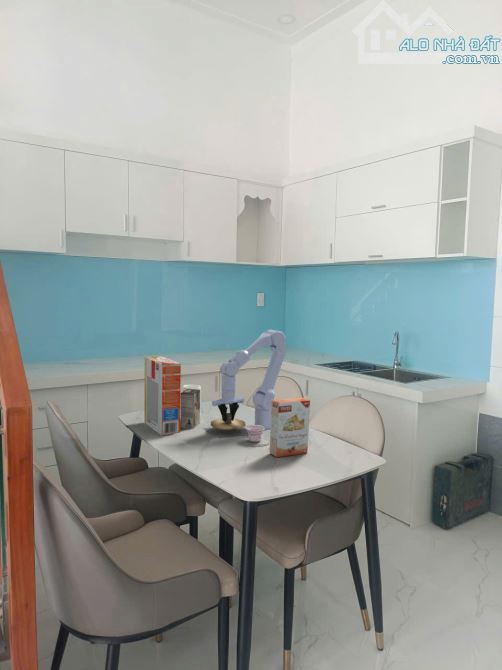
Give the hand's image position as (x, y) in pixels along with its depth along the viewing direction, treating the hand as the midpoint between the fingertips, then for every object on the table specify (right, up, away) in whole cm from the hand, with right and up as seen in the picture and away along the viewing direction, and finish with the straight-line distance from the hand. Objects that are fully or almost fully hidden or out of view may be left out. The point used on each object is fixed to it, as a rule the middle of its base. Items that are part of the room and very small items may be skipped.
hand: (228, 420), depth 221 cm
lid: (0, -2, 0) cm, 2 cm away
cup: (-18, -3, +19) cm, 26 cm away
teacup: (+11, -7, -13) cm, 18 cm away
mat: (0, -5, 0) cm, 5 cm away
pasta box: (-29, -4, +5) cm, 30 cm away
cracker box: (+24, -8, -26) cm, 36 cm away
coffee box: (-17, -4, +8) cm, 19 cm away
